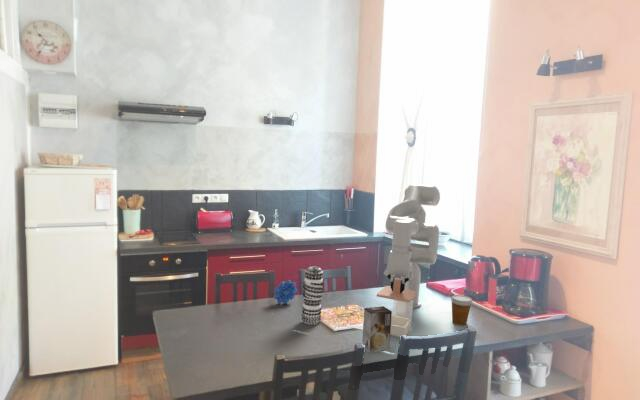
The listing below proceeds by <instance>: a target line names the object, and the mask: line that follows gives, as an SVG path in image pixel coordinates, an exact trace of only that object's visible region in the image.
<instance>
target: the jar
mask: <svg viewBox="0 0 640 400" xmlns="http://www.w3.org/2000/svg"><path fill="white" fill-rule="evenodd" d="M393 303H394V304H393V312H392V315H395V316H400V317H405V318H409V319H412V318H413V309H414V308H413V299H412V300H411V301H410V302H403V301H398V300H394V302H393ZM412 320H413V319H412Z"/></svg>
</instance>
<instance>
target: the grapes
mask: <svg viewBox="0 0 640 400" xmlns="http://www.w3.org/2000/svg"><path fill="white" fill-rule="evenodd" d="M274 293H275V294H274V296H273V299H274V300H276V302H277V304H284V305H286V304H288V303H289V302H290V301H293V299H295V294H297V293H298V289H297V284H296V281H295V282H292V281H291V279H287V280H286V281H281V282H280V283H279V284H278V286H277V287H276V288H275V289H274Z"/></svg>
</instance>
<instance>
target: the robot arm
mask: <svg viewBox="0 0 640 400" xmlns="http://www.w3.org/2000/svg"><path fill="white" fill-rule="evenodd" d="M440 194H441V193H440V190H439V189H438V187H437V186H435V185H432V184H421V183H412V184H410V185H408V186H407V187H405V190H404V197H403V201H402V202H399V203H398V204H396V205H395V206H393V207H392V208H390V210H389V213H388V215H387V217H386V221H385V230H386V232H388V233H390V234H392V241H391V250H390V252H389V254H388V258H387V262H386V263H387V265H386V267H385V268H386V269H385V270H384V271H383V275H385V276H386V277H387V278H388V280H389V281H390V287H391V289H392V291H393V285H394V279H395V278H396V276H397V277H401V278H400V279H402V282H401V285H400V293H402V292H403V291H404V289H406V290H412V291H417V294H416V295H415V296H414V298H413V309H417V308H419V307H421V306H422V302H421V301H420V300H419V297H420V296H419V295H420V287H421V275H422V273H421V268H420V266H419V265H418V264H424V265H430V266H431V265H434V264H435V263H436V261H437V259H438V250H439V249H438V248H439V238H440V229H439V226H438V225H436V224H434V223H428V222H427V223H426V215H427V213H426V210H425V208H424V207H423V206H430V207H431V206H432V207H436V206H437V205H438V204H439V203H440V200H441V195H440ZM411 241H415V242H422V243H423V242H424V243H427V244H422V243H415V242H411Z"/></svg>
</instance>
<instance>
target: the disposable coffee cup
mask: <svg viewBox="0 0 640 400" xmlns="http://www.w3.org/2000/svg"><path fill="white" fill-rule="evenodd" d="M450 301H451V314H452V315H451V317H452V320H451V321H452V323H453V324H454V325H457V326H467V323H468V319H469V314H470V310H471V306H472V304H473V301H472V298H471V297H469V296H466V295H462V294H461V295H460V294H455V295H454V294H453V295H452V296H451V298H450Z"/></svg>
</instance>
